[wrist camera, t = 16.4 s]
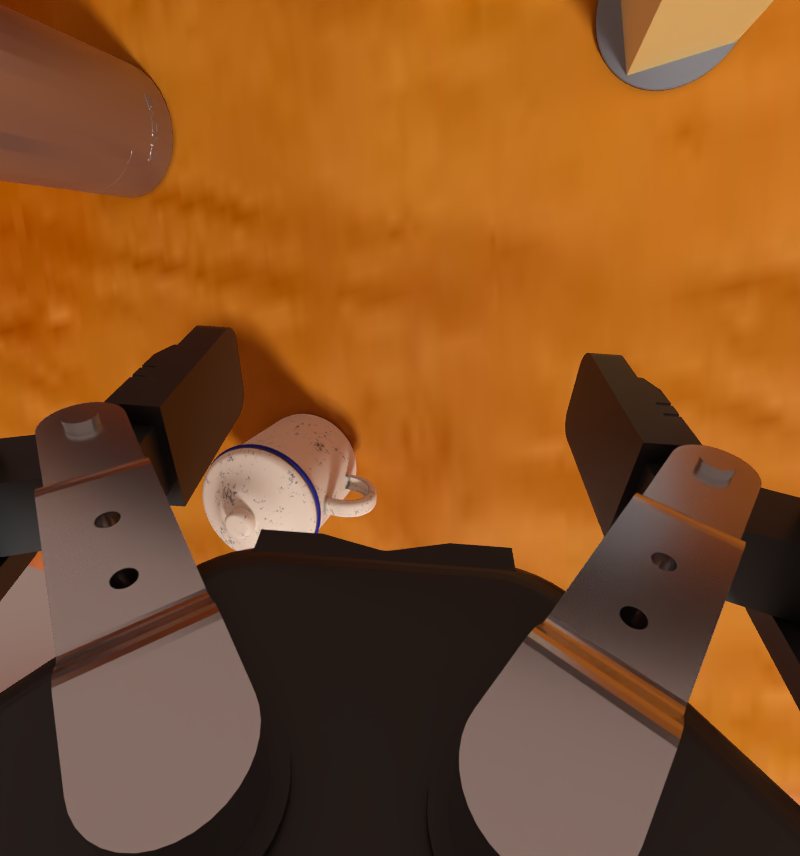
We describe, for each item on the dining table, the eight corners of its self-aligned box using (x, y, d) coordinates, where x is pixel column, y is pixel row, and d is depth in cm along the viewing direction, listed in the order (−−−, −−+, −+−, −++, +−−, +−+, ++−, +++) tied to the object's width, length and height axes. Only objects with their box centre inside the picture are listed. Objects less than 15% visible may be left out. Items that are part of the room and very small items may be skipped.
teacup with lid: (265, 497, 46) (181, 570, 36) (261, 402, 43) (169, 451, 32) (391, 522, 44) (341, 609, 33) (397, 422, 40) (344, 483, 30)
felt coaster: (581, 88, 30) (582, 86, 30) (614, -84, 27) (615, -88, 27) (728, 93, 29) (730, 91, 28) (779, -89, 26) (782, -94, 25)
